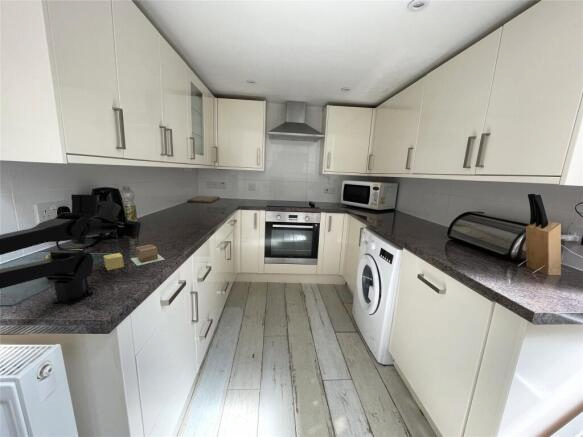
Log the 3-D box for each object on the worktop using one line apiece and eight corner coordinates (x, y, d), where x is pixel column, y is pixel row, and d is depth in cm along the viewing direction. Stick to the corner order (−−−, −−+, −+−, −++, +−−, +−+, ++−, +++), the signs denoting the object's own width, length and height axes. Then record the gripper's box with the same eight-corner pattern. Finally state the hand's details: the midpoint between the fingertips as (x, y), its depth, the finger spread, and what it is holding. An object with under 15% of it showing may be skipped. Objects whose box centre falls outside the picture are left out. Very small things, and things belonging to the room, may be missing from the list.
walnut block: (157, 259, 98) (157, 247, 97) (141, 262, 94) (140, 250, 93) (153, 255, 102) (152, 244, 101) (137, 258, 98) (136, 247, 97)
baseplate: (164, 260, 98) (164, 259, 98) (137, 267, 91) (137, 265, 91) (156, 254, 105) (156, 253, 105) (130, 259, 98) (130, 258, 98)
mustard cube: (124, 268, 90) (122, 256, 89) (107, 272, 86) (106, 259, 85) (121, 264, 93) (119, 252, 92) (105, 268, 89) (103, 255, 88)
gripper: (126, 207, 74) (155, 208, 90) (69, 197, 75) (109, 200, 90) (120, 241, 75) (151, 236, 90) (64, 231, 75) (104, 228, 91)
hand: (129, 225), depth 90 cm, fingers open, 9 cm apart
